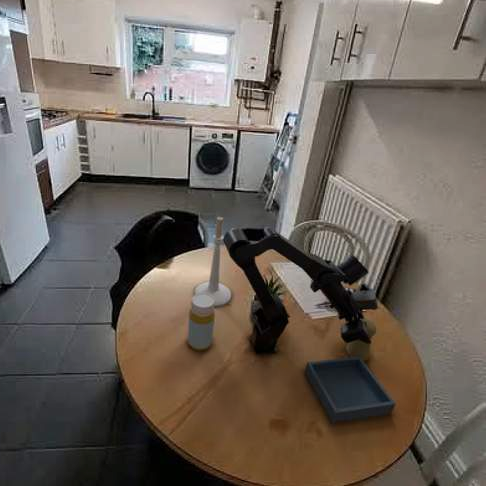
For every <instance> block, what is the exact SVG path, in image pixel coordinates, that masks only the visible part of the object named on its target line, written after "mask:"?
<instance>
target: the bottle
mask: <svg viewBox="0 0 486 486" xmlns="http://www.w3.org/2000/svg"><path fill="white" fill-rule="evenodd" d="M190 307H191V308H190V310H189V313H188V314H189V315H188V328H187V331H188V332H187V343H188V345H189V347H191V348H192V349H193V350H196V351H205V350H207V349H209V348H210V347H211V346H212V344H213V337H214V327H215V325H214V324H215V317H216V314H215V310H214V309H215V306H214V298H213V296H211V295H210V294H207V293H198V294H195V293H194V295H193V296H192V297H191V304H190Z"/></svg>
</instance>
